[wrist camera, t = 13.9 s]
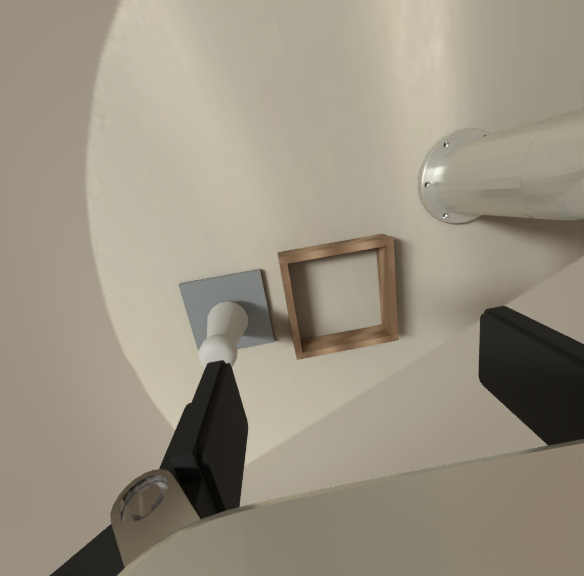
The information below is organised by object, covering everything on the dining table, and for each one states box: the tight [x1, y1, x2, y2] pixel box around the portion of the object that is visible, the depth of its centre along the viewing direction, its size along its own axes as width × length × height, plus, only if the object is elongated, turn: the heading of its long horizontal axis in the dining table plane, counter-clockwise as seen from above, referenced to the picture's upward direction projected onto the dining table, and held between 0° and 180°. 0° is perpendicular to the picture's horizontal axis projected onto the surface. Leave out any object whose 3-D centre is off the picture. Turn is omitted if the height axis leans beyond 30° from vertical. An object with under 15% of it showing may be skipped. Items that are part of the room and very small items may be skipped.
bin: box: [278, 234, 399, 360], centre depth 43 cm, size 16×16×4 cm
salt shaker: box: [199, 301, 248, 368], centre depth 38 cm, size 6×6×13 cm
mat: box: [179, 269, 274, 351], centre depth 44 cm, size 12×12×1 cm
